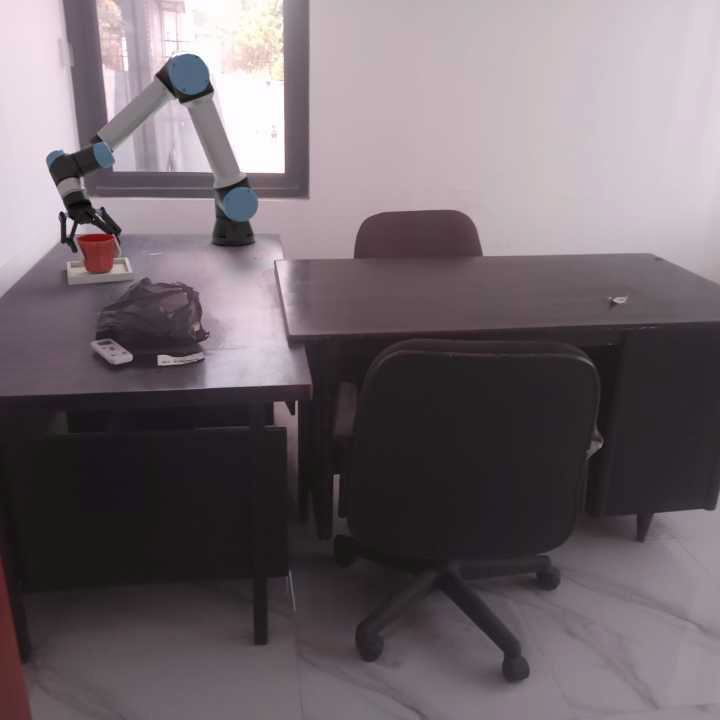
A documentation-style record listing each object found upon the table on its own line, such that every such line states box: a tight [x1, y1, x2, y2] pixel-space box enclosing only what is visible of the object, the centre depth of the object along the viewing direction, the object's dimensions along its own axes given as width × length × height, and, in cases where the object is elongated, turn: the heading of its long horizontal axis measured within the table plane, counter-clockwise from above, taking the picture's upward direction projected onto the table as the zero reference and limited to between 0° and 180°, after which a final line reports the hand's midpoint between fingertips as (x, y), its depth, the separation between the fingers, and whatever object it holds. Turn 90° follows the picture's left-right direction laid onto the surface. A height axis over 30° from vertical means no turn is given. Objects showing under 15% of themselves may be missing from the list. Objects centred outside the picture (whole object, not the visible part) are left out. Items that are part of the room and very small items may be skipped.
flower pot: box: [75, 233, 115, 272], centre depth 223 cm, size 11×11×10 cm
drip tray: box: [66, 257, 134, 286], centre depth 225 cm, size 18×18×2 cm
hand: (101, 257), depth 221 cm, fingers closed on flower pot, 11 cm apart
